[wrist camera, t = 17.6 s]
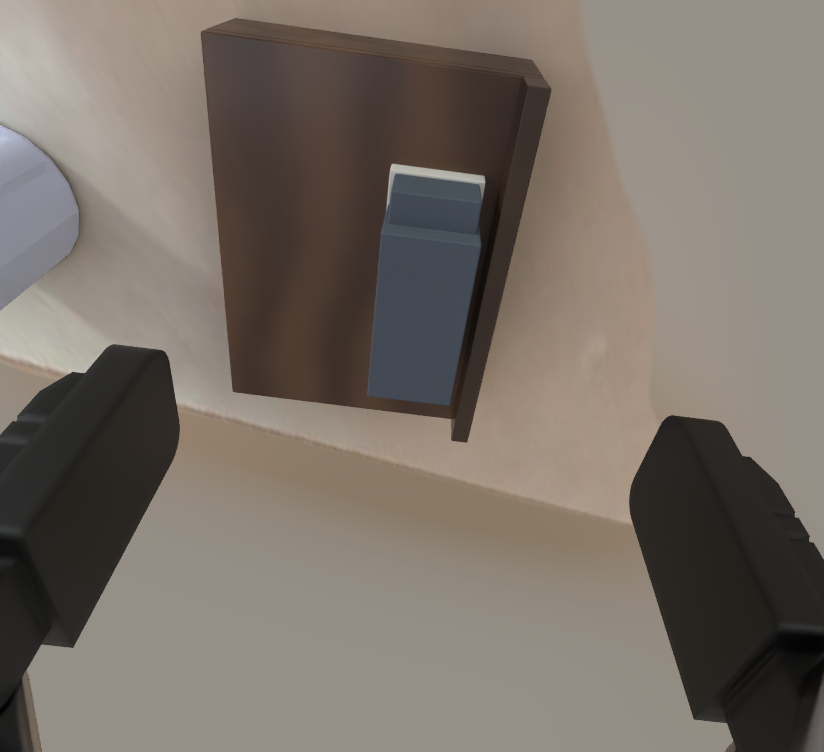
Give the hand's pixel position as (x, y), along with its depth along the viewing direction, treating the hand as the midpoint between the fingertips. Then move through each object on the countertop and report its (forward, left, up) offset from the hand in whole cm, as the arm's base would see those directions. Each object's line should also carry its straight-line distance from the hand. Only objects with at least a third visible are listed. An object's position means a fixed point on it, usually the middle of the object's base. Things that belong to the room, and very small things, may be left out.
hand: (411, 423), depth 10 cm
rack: (-3, -8, -26) cm, 27 cm away
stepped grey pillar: (0, -8, -21) cm, 23 cm away
